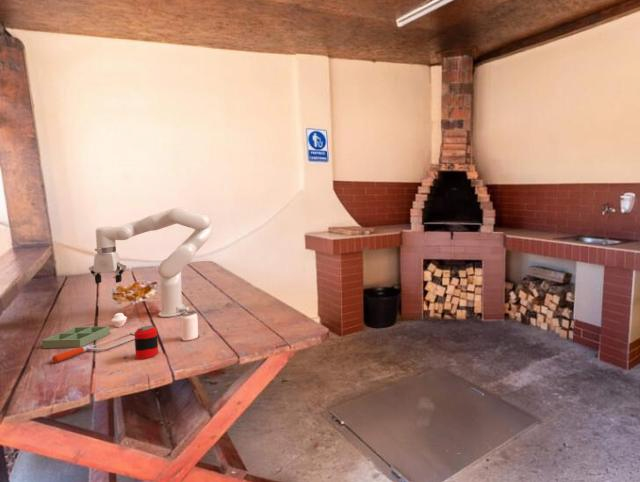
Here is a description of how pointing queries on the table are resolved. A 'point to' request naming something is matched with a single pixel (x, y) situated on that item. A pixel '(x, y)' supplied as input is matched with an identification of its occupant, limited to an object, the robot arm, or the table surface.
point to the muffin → (119, 320)
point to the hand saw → (86, 348)
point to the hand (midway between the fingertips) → (108, 282)
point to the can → (189, 326)
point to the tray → (75, 337)
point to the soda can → (146, 342)
